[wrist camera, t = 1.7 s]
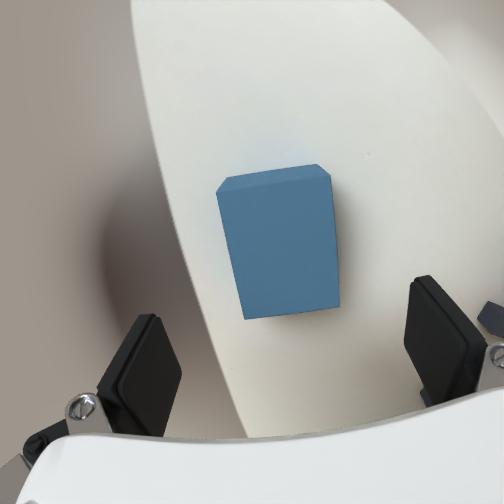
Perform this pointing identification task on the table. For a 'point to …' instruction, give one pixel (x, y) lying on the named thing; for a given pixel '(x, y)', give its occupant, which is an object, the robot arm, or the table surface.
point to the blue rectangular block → (281, 240)
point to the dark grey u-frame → (495, 323)
